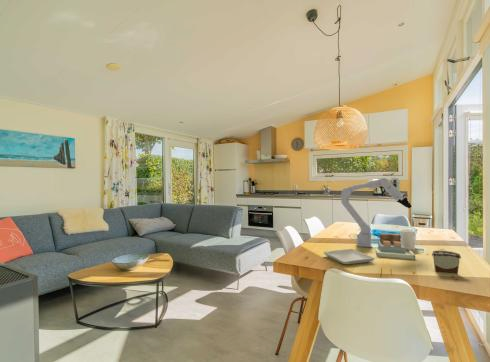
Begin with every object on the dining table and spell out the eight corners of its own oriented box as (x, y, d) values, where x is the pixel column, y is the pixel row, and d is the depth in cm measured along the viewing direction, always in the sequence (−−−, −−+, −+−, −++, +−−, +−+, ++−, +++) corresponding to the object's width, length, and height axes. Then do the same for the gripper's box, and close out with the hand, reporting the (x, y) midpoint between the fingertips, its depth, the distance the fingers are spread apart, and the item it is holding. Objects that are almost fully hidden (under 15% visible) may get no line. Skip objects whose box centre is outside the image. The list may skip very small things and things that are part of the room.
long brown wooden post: (380, 242, 184) (380, 234, 184) (379, 241, 187) (379, 233, 187) (400, 244, 180) (400, 235, 180) (399, 243, 183) (399, 234, 183)
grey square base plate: (380, 252, 176) (380, 245, 176) (378, 247, 188) (378, 241, 188) (405, 254, 171) (405, 247, 171) (401, 249, 183) (401, 243, 183)
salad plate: (343, 267, 147) (343, 261, 147) (322, 256, 168) (322, 251, 168) (376, 263, 153) (376, 257, 153) (351, 254, 173) (351, 248, 173)
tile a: (383, 245, 176) (383, 241, 176) (382, 244, 180) (382, 240, 180) (390, 246, 175) (390, 242, 175) (389, 244, 179) (389, 240, 179)
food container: (456, 270, 139) (456, 251, 139) (461, 274, 134) (461, 254, 134) (428, 268, 143) (428, 249, 143) (432, 272, 138) (432, 252, 138)
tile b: (394, 246, 174) (394, 242, 174) (393, 244, 178) (393, 241, 178) (401, 246, 173) (401, 242, 173) (399, 245, 177) (399, 241, 177)
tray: (377, 256, 165) (377, 252, 165) (375, 251, 176) (375, 248, 176) (415, 259, 158) (415, 255, 158) (410, 254, 169) (410, 250, 169)
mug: (411, 245, 191) (411, 229, 191) (422, 248, 183) (422, 231, 183) (397, 247, 188) (397, 229, 188) (408, 250, 180) (407, 232, 180)
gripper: (400, 188, 178) (416, 203, 174) (396, 188, 191) (411, 202, 188) (391, 195, 180) (407, 210, 176) (388, 194, 193) (403, 209, 190)
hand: (409, 207), depth 182 cm, fingers open, 7 cm apart
